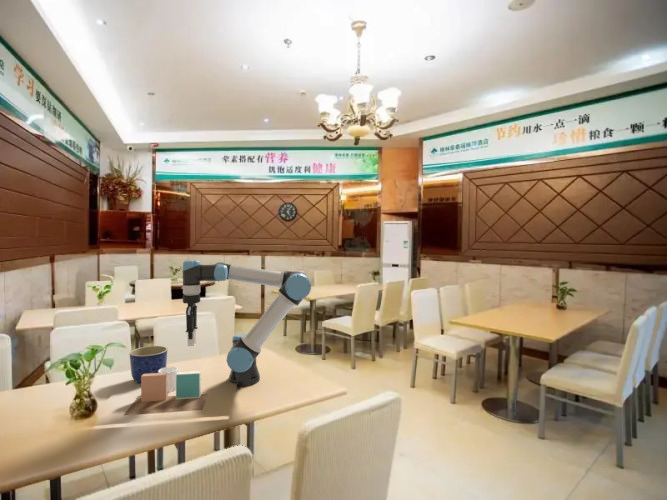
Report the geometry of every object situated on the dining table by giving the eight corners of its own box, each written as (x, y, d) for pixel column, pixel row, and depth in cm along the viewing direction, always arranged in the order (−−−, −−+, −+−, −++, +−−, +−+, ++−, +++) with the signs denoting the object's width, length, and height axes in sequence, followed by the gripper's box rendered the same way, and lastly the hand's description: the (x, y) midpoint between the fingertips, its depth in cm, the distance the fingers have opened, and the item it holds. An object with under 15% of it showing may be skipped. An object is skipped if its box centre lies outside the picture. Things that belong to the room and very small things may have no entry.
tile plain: (167, 397, 165) (167, 372, 165) (166, 400, 162) (165, 375, 162) (143, 398, 164) (143, 373, 163) (141, 401, 161) (141, 376, 160)
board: (208, 396, 169) (208, 393, 169) (202, 412, 154) (202, 409, 154) (137, 400, 164) (137, 398, 164) (123, 418, 148) (123, 415, 148)
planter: (170, 382, 185) (170, 352, 185) (131, 390, 176) (131, 358, 175) (164, 372, 199) (164, 344, 199) (127, 378, 190) (127, 349, 189)
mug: (150, 398, 167) (149, 375, 167) (148, 391, 174) (148, 369, 174) (178, 393, 173) (178, 370, 173) (176, 386, 180) (176, 365, 180)
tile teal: (200, 395, 168) (200, 370, 167) (199, 398, 165) (199, 373, 164) (177, 396, 166) (177, 372, 166) (175, 399, 163) (175, 374, 163)
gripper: (186, 291, 179) (186, 340, 180) (178, 296, 163) (179, 350, 163) (203, 291, 180) (203, 339, 181) (196, 296, 164) (197, 349, 165)
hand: (191, 344), depth 172 cm, fingers open, 3 cm apart
